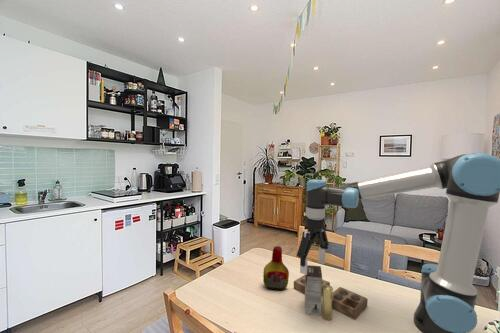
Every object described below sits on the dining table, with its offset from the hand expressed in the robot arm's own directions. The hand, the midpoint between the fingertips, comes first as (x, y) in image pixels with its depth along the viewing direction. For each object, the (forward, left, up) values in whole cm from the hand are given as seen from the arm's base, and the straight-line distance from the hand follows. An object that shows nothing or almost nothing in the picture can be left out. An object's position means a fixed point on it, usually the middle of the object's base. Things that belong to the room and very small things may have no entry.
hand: (312, 268), depth 98 cm
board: (+8, -12, -17) cm, 22 cm away
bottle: (+20, 0, -17) cm, 26 cm away
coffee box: (0, 0, -17) cm, 17 cm away
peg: (-7, +1, -17) cm, 18 cm away
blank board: (-9, -12, -17) cm, 23 cm away
